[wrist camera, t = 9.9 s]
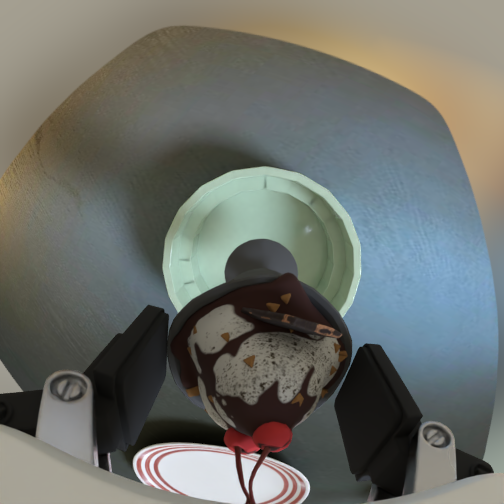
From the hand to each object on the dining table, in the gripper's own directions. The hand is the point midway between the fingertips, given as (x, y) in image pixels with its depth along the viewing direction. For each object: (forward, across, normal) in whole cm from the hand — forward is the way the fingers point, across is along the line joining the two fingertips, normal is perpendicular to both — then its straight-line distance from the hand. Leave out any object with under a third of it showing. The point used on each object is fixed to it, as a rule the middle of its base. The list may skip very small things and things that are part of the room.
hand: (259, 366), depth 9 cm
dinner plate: (+16, -1, +37) cm, 40 cm away
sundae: (+10, 0, 0) cm, 10 cm away
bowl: (+16, 0, 0) cm, 16 cm away
